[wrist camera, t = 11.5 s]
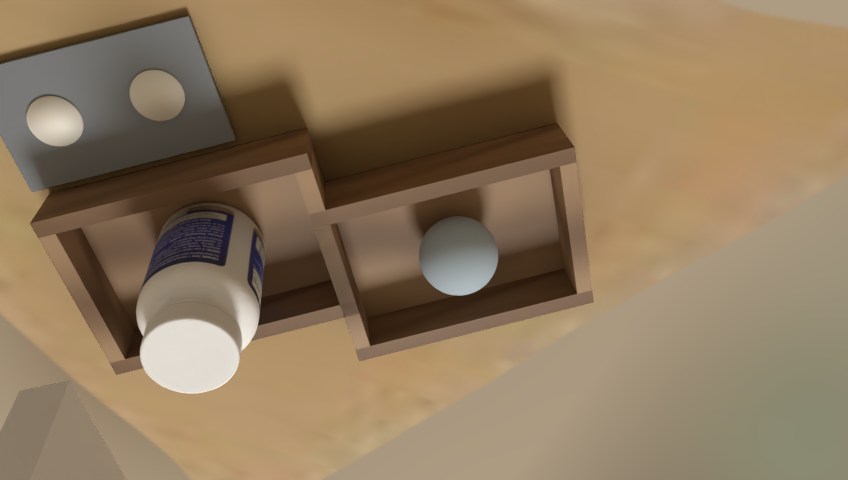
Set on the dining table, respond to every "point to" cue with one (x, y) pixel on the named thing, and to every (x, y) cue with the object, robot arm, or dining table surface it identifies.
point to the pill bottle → (200, 297)
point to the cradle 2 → (469, 197)
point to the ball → (458, 255)
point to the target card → (110, 104)
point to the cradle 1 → (167, 194)
